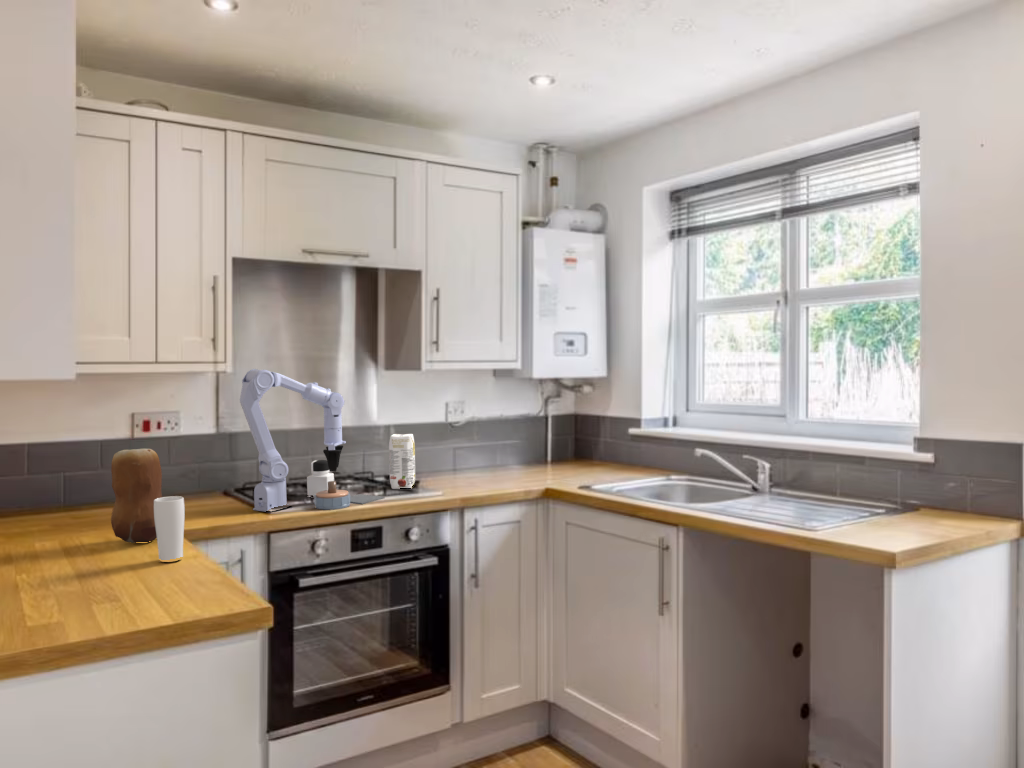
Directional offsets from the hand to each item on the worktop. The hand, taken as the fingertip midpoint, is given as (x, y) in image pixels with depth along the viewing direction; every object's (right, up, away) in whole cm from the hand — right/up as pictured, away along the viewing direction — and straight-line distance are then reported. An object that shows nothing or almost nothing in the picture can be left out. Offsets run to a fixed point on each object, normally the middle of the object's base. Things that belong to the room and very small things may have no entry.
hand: (333, 469), depth 257 cm
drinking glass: (-23, -15, -70) cm, 75 cm away
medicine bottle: (-6, -10, +8) cm, 14 cm away
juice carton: (+20, -9, +21) cm, 30 cm away
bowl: (+2, -11, -9) cm, 14 cm away
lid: (+2, -7, -10) cm, 12 cm away
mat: (+9, -10, 0) cm, 13 cm away
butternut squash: (-39, -14, -52) cm, 66 cm away
